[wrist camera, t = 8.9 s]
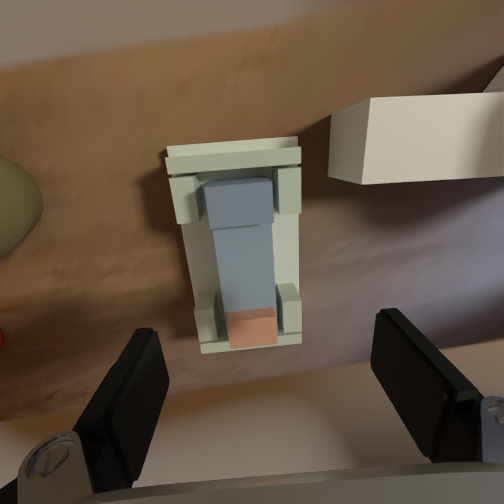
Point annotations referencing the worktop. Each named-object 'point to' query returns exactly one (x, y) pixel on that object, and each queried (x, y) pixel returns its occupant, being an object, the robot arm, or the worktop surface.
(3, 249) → the squeeze bottle
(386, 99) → the block
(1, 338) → the paper cup
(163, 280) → the worktop surface
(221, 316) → the jig
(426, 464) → the robot arm
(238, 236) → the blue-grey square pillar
